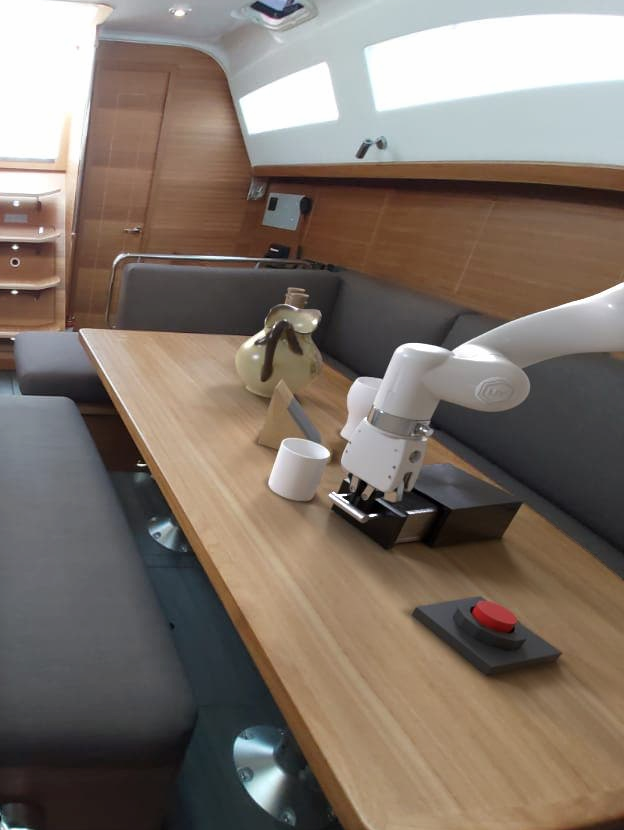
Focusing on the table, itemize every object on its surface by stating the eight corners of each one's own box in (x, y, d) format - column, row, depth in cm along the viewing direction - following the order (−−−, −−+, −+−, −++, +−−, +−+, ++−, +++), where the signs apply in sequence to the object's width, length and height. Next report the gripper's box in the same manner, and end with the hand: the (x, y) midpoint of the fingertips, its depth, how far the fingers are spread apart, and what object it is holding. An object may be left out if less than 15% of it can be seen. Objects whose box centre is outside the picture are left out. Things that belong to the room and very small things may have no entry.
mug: (265, 468, 110) (279, 427, 105) (308, 478, 107) (324, 436, 102) (268, 496, 100) (283, 452, 95) (315, 508, 97) (333, 462, 92)
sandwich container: (331, 467, 111) (355, 407, 105) (256, 445, 119) (274, 388, 113) (334, 453, 117) (357, 395, 111) (263, 433, 126) (281, 378, 119)
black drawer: (362, 553, 84) (377, 520, 81) (308, 511, 94) (320, 481, 91) (453, 540, 88) (471, 508, 85) (392, 502, 98) (406, 472, 95)
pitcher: (286, 380, 161) (310, 303, 150) (329, 411, 139) (362, 324, 129) (216, 377, 161) (236, 300, 150) (249, 407, 140) (275, 320, 129)
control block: (473, 606, 75) (486, 586, 73) (553, 664, 66) (570, 643, 64) (409, 617, 73) (421, 597, 71) (484, 678, 64) (499, 657, 62)
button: (486, 608, 70) (492, 598, 69) (518, 631, 66) (525, 621, 66) (464, 611, 69) (469, 602, 68) (495, 635, 66) (502, 625, 65)
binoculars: (259, 352, 187) (279, 285, 177) (289, 356, 184) (311, 288, 173) (262, 368, 170) (283, 295, 160) (295, 373, 167) (319, 299, 156)
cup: (359, 452, 118) (383, 394, 112) (322, 431, 128) (342, 377, 121) (394, 448, 121) (420, 391, 114) (355, 428, 130) (377, 375, 123)
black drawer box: (429, 550, 86) (452, 509, 83) (365, 507, 98) (382, 469, 94) (499, 541, 90) (524, 500, 86) (429, 499, 101) (448, 462, 97)
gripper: (463, 441, 74) (413, 538, 82) (374, 400, 87) (338, 488, 95) (423, 444, 73) (376, 543, 81) (338, 403, 86) (305, 491, 94)
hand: (355, 513), depth 88 cm, fingers closed
